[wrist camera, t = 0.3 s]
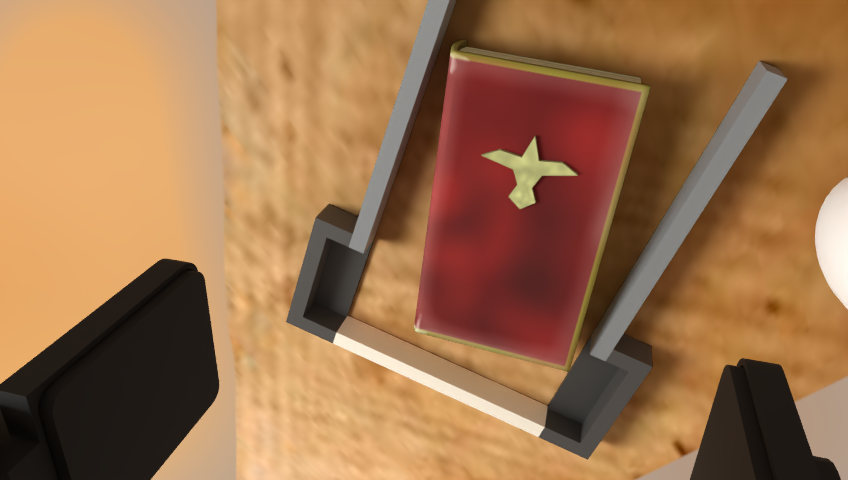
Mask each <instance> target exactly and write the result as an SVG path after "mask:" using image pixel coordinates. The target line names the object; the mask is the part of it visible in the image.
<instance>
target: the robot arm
mask: <svg viewBox="0 0 848 480" xmlns="http://www.w3.org/2000/svg"><path fill="white" fill-rule="evenodd" d="M218 390H219V379H218V371H217V364H216V356H215V349H214V343H213V335H212V328H211V321H210V314H209V306H208V299H207V293H206V285H205V279H204V276H203V274H202V273H200V272H198V270H197V268H196V266H195V265H194V264H192V263H189V262H183V261H177V260H171V259H162V260H159V261H158V262H157V263H155V264H154V265H153V266H151V267H150V268H149V269H148V270H146V271H145V272H144V273H142V274H141V275H140V276H139V277H137V278H136V279H135V280H133V281H132V282H131V283H130V284H128V285H127V286H126V287H124V288H123V289H122V290H121V291H120V292H118V293H117V294H116V295H114V296H113V297H112V298H110V299H109V300H108V301H106V302H105V303H104V304H103V305H101V306H100V307H99V308H98V309H96V310H95V311H94V312H92V313H91V314H90V315H89V316H87V317H86V318H85V319H83V320H82V321H81V322H79V324H77V325H76V326H74V327H73V328H72V329H70V330H69V331H68V332H67V333H65V334H64V335H63V336H62V337H60V338H59V339H58V340H56V341H55V342H54V343H53V344H51V345H50V346H49V347H47V348H46V349H45V350H44V351H42V352H41V353H40V354H39V355H37V356H36V357H35V358H33V359H32V360H31V361H30V362H28V363H27V364H26V365H24V366H23V367H22V368H20V369H19V370H18V371H17V372H16V373H14V374H13V375H11V376H10V377H9V378H8V379H6V380H5V381H4V382H2V383H1V384H0V480H151V478H152V477H153V476H154V475H155V473H156V472H157V471H158V470H159V469H160V467H161V466H162V465H163V464H164V462H165V461H166V460H167V459H168V457H169V456H170V455H171V454H172V453H173V451H174V450H175V449H176V448H177V446H178V445H179V444H180V443H181V442H182V440H183V439H184V438H185V437H186V435H187V434H188V433H189V432H190V430H191V429H192V428H193V427H194V425H195V424H196V423H197V422H198V421H199V419H200V418H201V417H202V416H203V414H204V413H205V412H206V411H207V410H208V408H209V407H210V406H211V405H212V403H213V402H214V400H215V398H216V396H217V394H218ZM690 480H841V479H840V476H839V473H838V471H837V469H836V467H835V465H834V464H833V462H831V461H830V460H829V459H826V458H821V457H816V456H813V455H812V452H811V449H810V446H809V444H808V441H807V438H806V435H805V432H804V429H803V426H802V423H801V420H800V418H799V415H798V412H797V409H796V406H795V403H794V400H793V397H792V394H791V391H790V388H789V385H788V382H787V379H786V377H785V374H784V371H783V369H782V367H781V366H780V365H779V364H773V363H767V362H761V361H756V360H750V359H744V358H742V359H740V360H739V362H738V364H737V366H732V365H726V366H725V368H724V370H723V372H722V376H721V379H720V382H719V386H718V389H717V392H716V395H715V399H714V402H713V405H712V409H711V412H710V415H709V419H708V422H707V425H706V428H705V432H704V435H703V438H702V442H701V445H700V448H699V451H698V455H697V458H696V462H695V465H694V468H693V471H692V474H691V478H690Z"/></svg>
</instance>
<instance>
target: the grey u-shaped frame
mask: <svg viewBox="0 0 848 480" xmlns="http://www.w3.org/2000/svg"><path fill="white" fill-rule="evenodd" d="M455 3H456V0H428V3H427V6H426V9H425V12H424V15H423V18H422V22H421V25H420V28H419V31H418V34H417V37H416V40H415V43H414V46H413V49H412V53H411V56H410V59H409V62H408V65H407V68H406V71H405V74H404V77H403V80H402V83H401V87H400V90H399V93H398V96H397V99H396V102H395V105H394V108H393V111H392V114H391V117H390V121H389V124H388V127H387V130H386V133H385V136H384V139H383V142H382V145H381V148H380V151H379V155H378V158H377V161H376V164H375V167H374V170H373V173H372V176H371V179H370V182H369V185H368V189H367V192H366V195H365V198H364V201H363V204H362V207H361V210H360V213H359V216H358V217H357V216H355V215H353V214H350V213H348V212H346V211H344V210H341V209H339V208H337V207H334V206H332V205H330V204H328V205H327V206H326V207H325V208H324V209H323V211H322V212H321V213H320V214H319V215H318V216H317V217H316V218H315V222H314V225H313V229H312V233H311V236H310V240H309V243H308V247H307V250H306V254H305V257H304V261H303V264H302V268H301V271H300V275H299V278H298V282H297V285H296V289H295V293H294V296H293V300H292V303H291V307H290V310H289V314H288V317H287V321H286V322H287V323H290V324H292V325H294V326H296V327H298V328H301V329H303V330H305V331H307V332H309V333H311V334H314V335H316V336H318V337H320V338H322V339H325V340H327V341H329V342H331V343H333V344H336V345H338V346H340V347H342V348H344V349H347V350H349V351H351V352H353V353H355V354H357V355H360V356H362V357H364V358H366V359H368V360H371V361H373V362H375V363H377V364H379V365H382V366H384V367H386V368H388V369H390V370H393V371H395V372H397V373H399V374H401V375H404V376H406V377H408V378H410V379H412V380H414V381H417V382H419V383H421V384H423V385H425V386H428V387H430V388H432V389H434V390H436V391H439V392H441V393H443V394H445V395H447V396H450V397H452V398H454V399H456V400H458V401H461V402H463V403H465V404H467V405H469V406H471V407H474V408H476V409H478V410H480V411H482V412H485V413H487V414H489V415H491V416H493V417H496V418H498V419H500V420H502V421H504V422H507V423H509V424H511V425H513V426H515V427H518V428H520V429H522V430H524V431H526V432H528V433H531V434H533V435H535V436H537V437H539V438H542V439H544V440H546V441H548V442H550V443H553V444H555V445H557V446H559V447H561V448H564V449H566V450H568V451H570V452H572V453H574V454H577V455H579V456H581V457H583V458H585V459H589V457H590V456H591V454H592V453H593V451H594V450H595V449H596V447H597V446H598V444H599V443H600V441H601V440H602V439H603V437H604V436H605V434H606V433H607V431H608V430H609V429H610V427H611V426H612V424H613V423H614V421H615V420H616V419H617V417H618V416H619V414H620V413H621V412H622V410H623V409H624V407H625V406H626V404H627V403H628V402H629V400H630V399H631V397H632V396H633V394H634V393H635V392H636V390H637V389H638V387H639V386H640V384H641V383H642V382H643V380H644V379H645V377H646V376H647V374H648V373H649V372H650V370H651V369H652V367H653V363H652V346H650V345H647V344H645V343H643V342H641V341H638V340H636V339H634V338H631V337H629V336H627V335H625V334H623V333H624V332H625V330H626V329H627V327H628V326H629V324H630V323H631V321H632V320H633V318H634V316H635V315H636V313H637V312H638V310H639V309H640V307H641V306H642V304H643V302H644V301H645V299H646V298H647V296H648V295H649V293H650V292H651V290H652V289H653V287H654V285H655V284H656V282H657V281H658V279H659V278H660V276H661V275H662V273H663V271H664V270H665V268H666V267H667V265H668V264H669V262H670V261H671V259H672V258H673V256H674V254H675V253H676V251H677V250H678V248H679V247H680V245H681V244H682V242H683V241H684V239H685V237H686V236H687V234H688V233H689V231H690V230H691V228H692V227H693V225H694V223H695V222H696V220H697V219H698V217H699V216H700V214H701V213H702V211H703V210H704V208H705V206H706V205H707V203H708V202H709V200H710V199H711V197H712V196H713V194H714V192H715V191H716V189H717V188H718V186H719V185H720V183H721V182H722V180H723V179H724V177H725V175H726V174H727V172H728V171H729V169H730V168H731V166H732V165H733V163H734V161H735V160H736V158H737V157H738V155H739V154H740V152H741V151H742V149H743V148H744V146H745V144H746V143H747V141H748V140H749V138H750V137H751V135H752V134H753V132H754V130H755V129H756V127H757V126H758V124H759V123H760V121H761V120H762V118H763V117H764V115H765V113H766V112H767V110H768V109H769V107H770V106H771V104H772V103H773V101H774V100H775V98H776V96H777V95H778V93H779V92H780V90H781V89H782V87H783V86H784V84H785V82H786V81H787V78H786V76H785V75H784V74H783V73H782V72H781V71H780V70H779V69H778V68H776V67H773V66H771V65H768V64H766V63H763V62H761V61H759V62H758V63H757V65H756V67H755V68H754V70H753V72H752V73H751V75H750V77H749V78H748V80H747V81H746V83H745V85H744V86H743V88H742V90H741V91H740V93H739V95H738V96H737V98H736V99H735V101H734V103H733V104H732V106H731V108H730V109H729V111H728V112H727V114H726V116H725V117H724V119H723V121H722V122H721V124H720V126H719V127H718V129H717V130H716V132H715V134H714V135H713V137H712V139H711V140H710V142H709V144H708V145H707V147H706V148H705V150H704V152H703V153H702V155H701V157H700V158H699V160H698V161H697V163H696V165H695V166H694V168H693V170H692V171H691V173H690V175H689V176H688V178H687V179H686V181H685V183H684V184H683V186H682V188H681V189H680V191H679V193H678V194H677V196H676V197H675V199H674V201H673V202H672V204H671V206H670V207H669V209H668V211H667V212H666V214H665V215H664V217H663V219H662V220H661V222H660V224H659V225H658V227H657V228H656V230H655V232H654V233H653V235H652V237H651V238H650V240H649V242H648V243H647V245H646V246H645V248H644V250H643V251H642V253H641V255H640V256H639V258H638V260H637V261H636V263H635V264H634V266H633V268H632V269H631V271H630V273H629V274H628V276H627V277H626V279H625V281H624V282H623V284H622V286H621V287H620V289H619V291H618V292H617V294H616V295H615V297H614V299H613V300H612V302H611V304H610V305H609V307H608V309H607V310H606V312H605V313H604V315H603V317H602V318H601V320H600V322H599V323H598V325H597V326H596V328H595V330H594V331H593V333H592V335H591V336H590V338H589V340H588V341H587V343H586V344H585V346H584V348H583V349H582V351H581V353H580V354H579V356H578V358H577V359H576V361H575V362H574V364H573V366H572V367H571V369H570V371H569V372H568V374H567V375H566V377H565V379H564V380H563V382H562V384H561V385H560V387H559V389H558V390H557V392H556V393H555V395H554V397H553V398H552V400H551V402H550V403H549V405H548V406H547V405H545V404H542V403H540V402H538V401H536V400H533V399H531V398H529V397H527V396H525V395H522V394H520V393H518V392H516V391H514V390H511V389H509V388H507V387H505V386H503V385H500V384H498V383H496V382H494V381H491V380H489V379H487V378H485V377H483V376H480V375H478V374H476V373H474V372H472V371H469V370H467V369H465V368H463V367H461V366H458V365H456V364H454V363H452V362H449V361H447V360H445V359H443V358H441V357H438V356H436V355H434V354H432V353H430V352H427V351H425V350H423V349H421V348H419V347H416V346H414V345H412V344H410V343H407V342H405V341H403V340H401V339H399V338H396V337H394V336H392V335H390V334H388V333H385V332H383V331H381V330H379V329H377V328H374V327H372V326H370V325H368V324H365V323H363V322H361V321H359V320H357V319H354V318H352V317H350V316H348V313H349V310H350V307H351V304H352V301H353V299H354V296H355V293H356V290H357V287H358V284H359V281H360V278H361V275H362V273H363V270H364V267H365V264H366V261H367V258H368V255H369V252H370V249H371V246H372V244H373V241H374V238H375V235H376V232H377V229H378V226H379V223H380V220H381V218H382V215H383V212H384V209H385V206H386V203H387V200H388V197H389V194H390V191H391V189H392V186H393V183H394V180H395V177H396V174H397V171H398V168H399V165H400V163H401V160H402V157H403V154H404V151H405V148H406V145H407V142H408V139H409V136H410V134H411V131H412V128H413V125H414V122H415V119H416V116H417V113H418V110H419V108H420V105H421V102H422V99H423V96H424V93H425V90H426V87H427V84H428V81H429V79H430V76H431V73H432V70H433V67H434V64H435V61H436V58H437V55H438V53H439V50H440V47H441V44H442V41H443V38H444V35H445V32H446V29H447V27H448V24H449V21H450V18H451V15H452V12H453V9H454V6H455Z"/></svg>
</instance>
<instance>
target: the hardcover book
mask: <svg viewBox="0 0 848 480" xmlns="http://www.w3.org/2000/svg"><path fill="white" fill-rule="evenodd" d="M650 88H651V85H647V84H642V83H641V78H640V77H634V76H628V75H623V74H617V73H612V72H606V71H600V70H595V69H589V68H584V67H578V66H572V65H567V64H561V63H556V62H550V61H544V60H539V59H533V58H527V57H522V56H516V55H511V54H505V53H499V52H494V51H488V50H483V49H477V48H471V47H467V40H459V41H457V42H455V43H454V44H453V45H452V47H451V53H450V61H449V68H448V76H447V83H446V91H445V98H444V106H443V113H442V121H441V128H440V136H439V144H438V151H437V159H436V166H435V174H434V181H433V189H432V196H431V204H430V211H429V219H428V226H427V234H426V241H425V249H424V257H423V264H422V272H421V279H420V287H419V294H418V302H417V309H416V317H415V324H414V330H415V332H418V333H421V334H425V335H429V336H433V337H437V338H441V339H444V340H448V341H452V342H456V343H460V344H464V345H468V346H471V347H475V348H479V349H483V350H487V351H491V352H494V353H498V354H502V355H506V356H510V357H514V358H517V359H521V360H525V361H529V362H533V363H537V364H541V365H544V366H548V367H552V368H556V369H560V370H564V371H567V372H569V370H570V367H571V363H572V360H573V356H574V353H575V349H576V346H577V342H578V339H579V335H580V332H581V328H582V325H583V322H584V318H585V315H586V311H587V308H588V304H589V301H590V297H591V294H592V290H593V287H594V283H595V280H596V276H597V273H598V269H599V266H600V262H601V259H602V255H603V252H604V248H605V245H606V241H607V238H608V234H609V231H610V227H611V224H612V220H613V217H614V213H615V210H616V206H617V203H618V199H619V196H620V192H621V189H622V185H623V182H624V178H625V175H626V171H627V168H628V164H629V161H630V157H631V154H632V150H633V147H634V143H635V140H636V136H637V133H638V129H639V126H640V122H641V119H642V115H643V112H644V108H645V105H646V101H647V98H648V94H649V91H650Z"/></svg>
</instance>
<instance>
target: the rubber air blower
mask: <svg viewBox="0 0 848 480" xmlns="http://www.w3.org/2000/svg"><path fill="white" fill-rule="evenodd" d="M815 245H816V251H817V257H818V261H819V265H820V267H821V269H822V272H823V274H824V276H825V279H826V281H827V283H828V284H829V286H830V288H831V289H832V291H833V292H834V293H835V295H836V296H837V297H838V298H839V300H840V301H841V302H842V303H843V304H844V306H845V307H846V308H847V309H848V177H847V178H845V179H843V180H842V181H841V182H840V183H839V184H837V185H836V186H835V187H834V188H833V189H832V191H831V192H830V193H829V194H828V196H827V197H826V199H825V201H824V203H823V205H822V207H821V209H820V212H819V215H818V219H817V223H816V232H815Z"/></svg>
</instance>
